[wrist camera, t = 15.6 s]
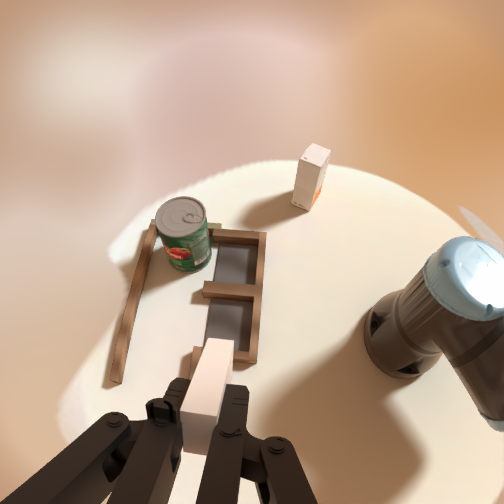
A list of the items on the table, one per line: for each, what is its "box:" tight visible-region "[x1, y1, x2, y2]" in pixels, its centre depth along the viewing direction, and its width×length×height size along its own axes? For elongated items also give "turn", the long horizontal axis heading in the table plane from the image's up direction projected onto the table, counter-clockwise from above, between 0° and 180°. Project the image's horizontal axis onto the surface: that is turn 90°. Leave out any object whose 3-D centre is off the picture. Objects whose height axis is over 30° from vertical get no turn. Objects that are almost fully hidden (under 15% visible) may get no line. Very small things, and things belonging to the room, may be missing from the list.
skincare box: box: [291, 143, 331, 211], centre depth 58 cm, size 6×4×12 cm
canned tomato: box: [155, 196, 212, 273], centre depth 51 cm, size 8×8×11 cm
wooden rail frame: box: [110, 219, 267, 384], centre depth 49 cm, size 30×22×2 cm
